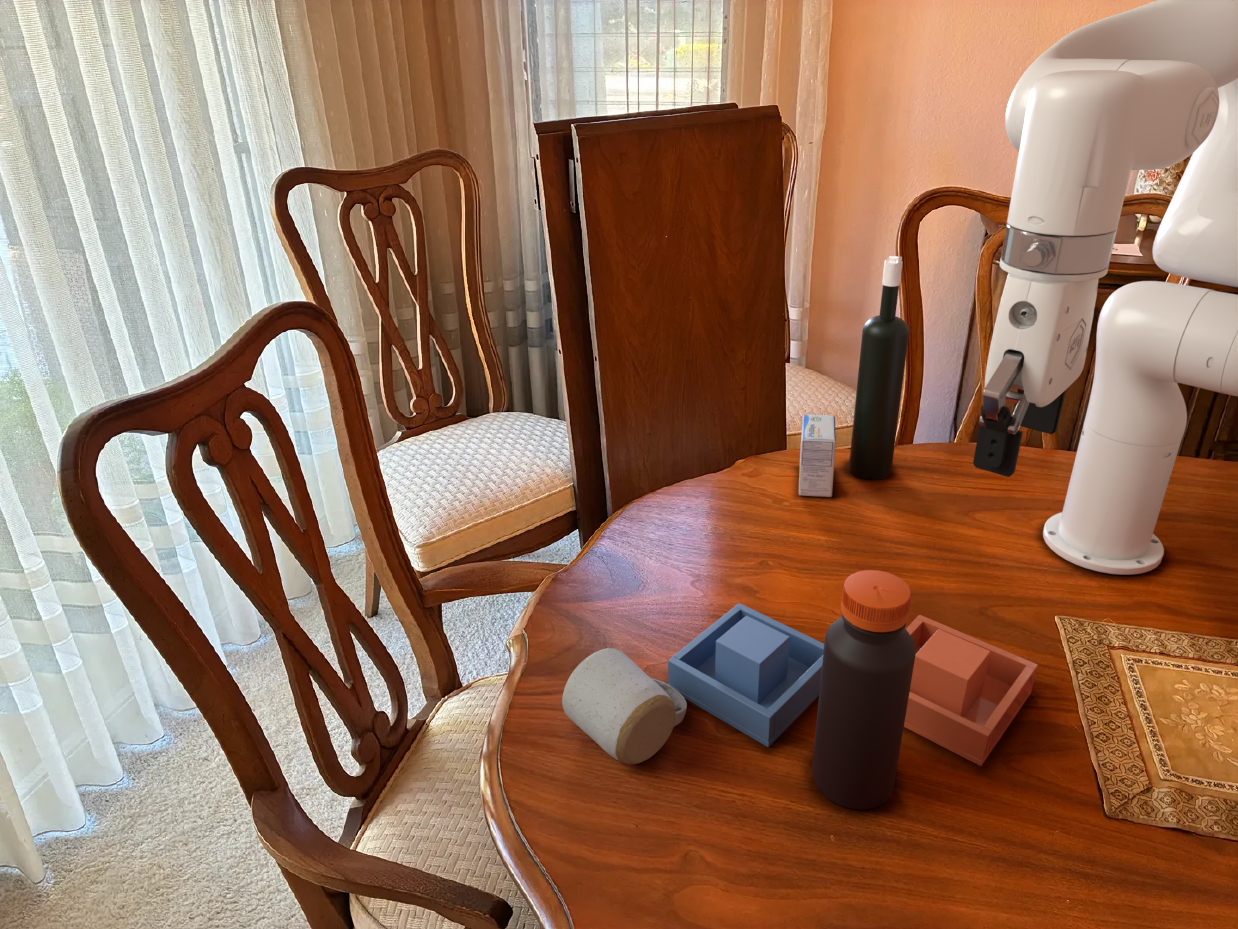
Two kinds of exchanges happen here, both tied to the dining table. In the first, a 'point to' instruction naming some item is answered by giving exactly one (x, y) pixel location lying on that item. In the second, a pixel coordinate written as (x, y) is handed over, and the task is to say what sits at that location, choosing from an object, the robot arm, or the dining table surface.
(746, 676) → the blue block
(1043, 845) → the dining table surface
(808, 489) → the medicine box
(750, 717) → the blue bin
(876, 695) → the black bottle
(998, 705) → the terracotta bin
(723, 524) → the dining table surface
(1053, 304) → the robot arm
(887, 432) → the wine bottle
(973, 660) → the terracotta block
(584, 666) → the ceramic mug
